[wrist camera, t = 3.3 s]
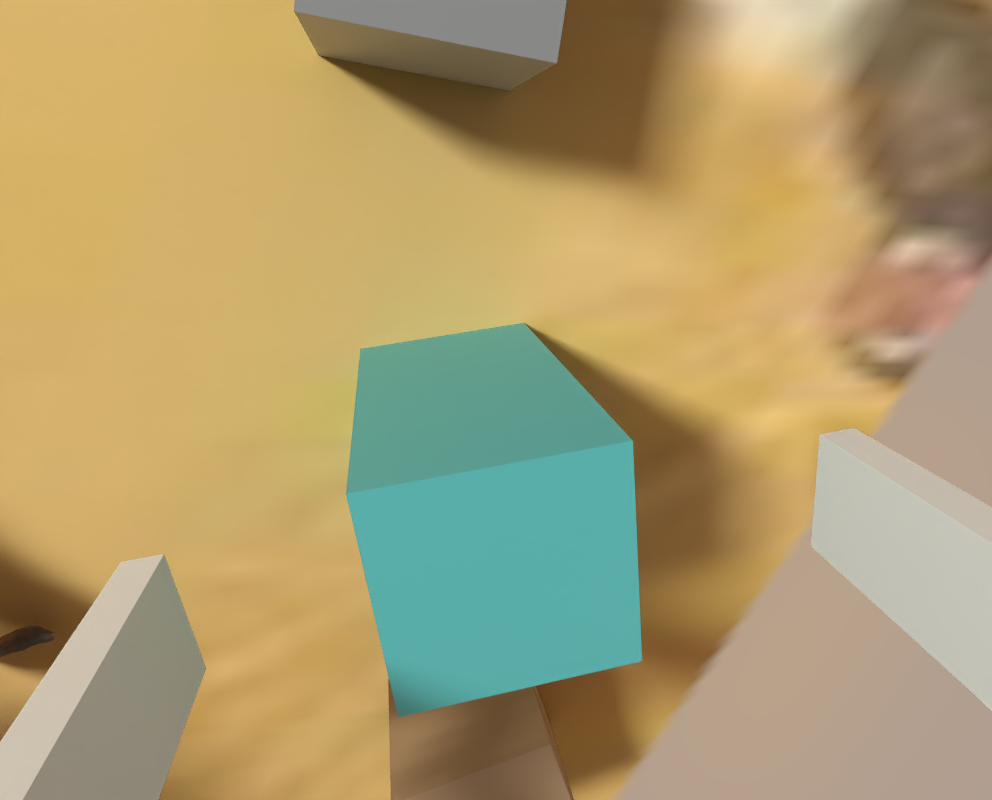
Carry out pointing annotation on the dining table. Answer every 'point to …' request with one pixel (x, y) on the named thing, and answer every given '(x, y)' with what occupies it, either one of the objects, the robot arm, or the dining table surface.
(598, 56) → the dining table surface
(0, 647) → the lion figurine
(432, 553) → the teal block
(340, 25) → the grey block
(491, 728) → the walnut block
